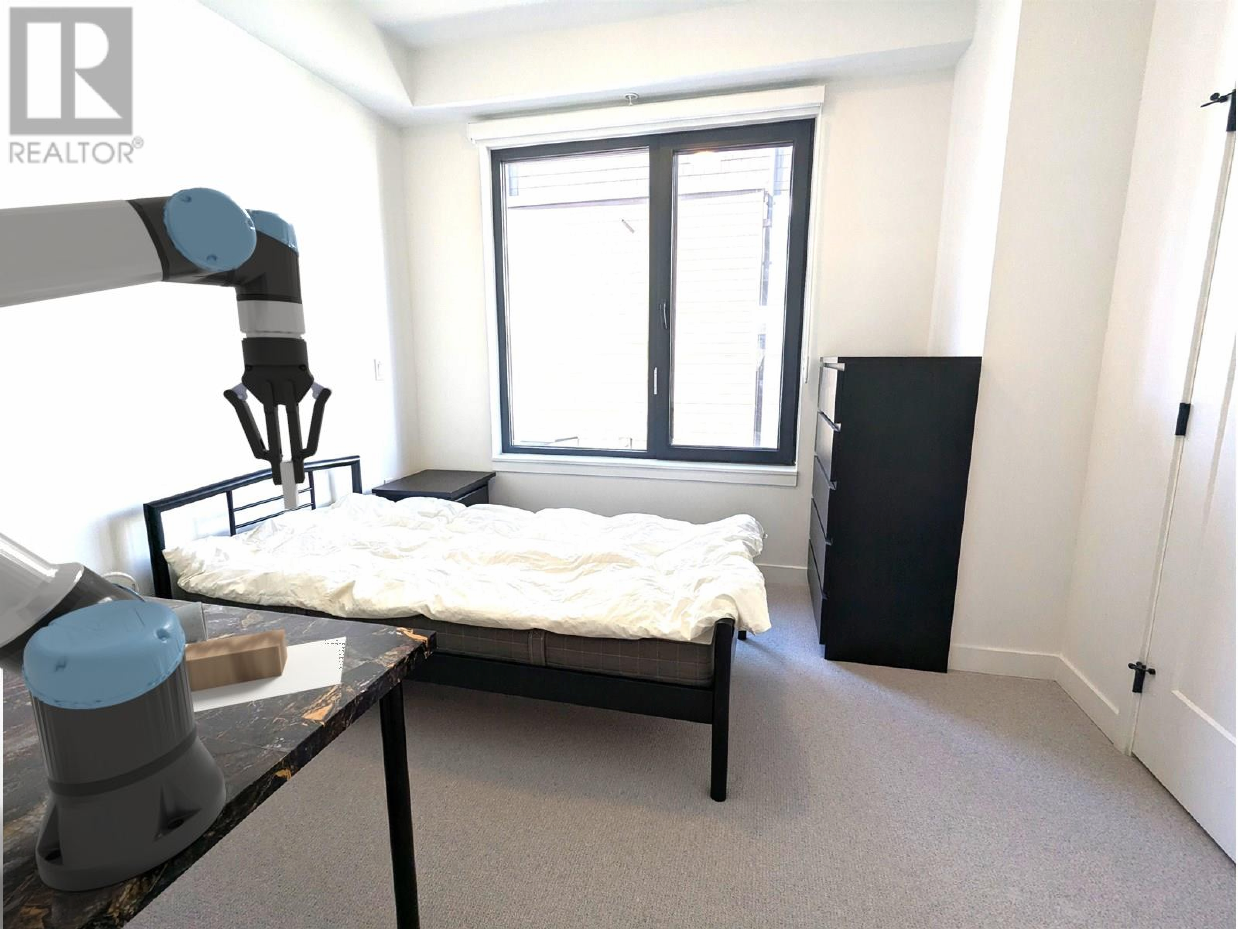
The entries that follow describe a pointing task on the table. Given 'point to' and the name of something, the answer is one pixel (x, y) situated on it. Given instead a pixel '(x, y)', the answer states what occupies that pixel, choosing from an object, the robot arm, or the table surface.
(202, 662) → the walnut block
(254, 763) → the table surface
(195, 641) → the ceramic mug
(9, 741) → the table surface
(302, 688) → the white mat
